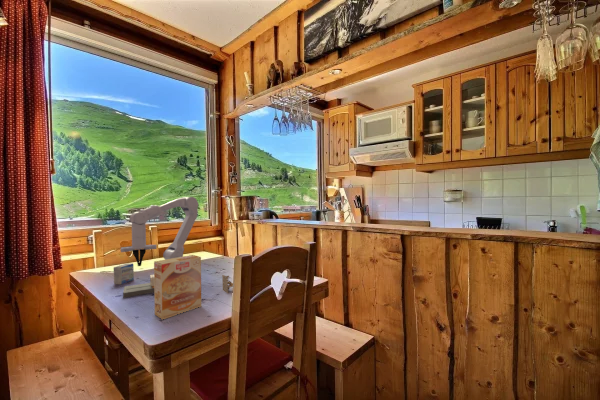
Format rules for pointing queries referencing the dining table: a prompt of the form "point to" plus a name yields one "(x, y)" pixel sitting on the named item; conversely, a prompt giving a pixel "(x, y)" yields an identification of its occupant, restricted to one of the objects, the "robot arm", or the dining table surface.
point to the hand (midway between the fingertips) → (139, 265)
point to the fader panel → (137, 290)
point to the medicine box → (123, 273)
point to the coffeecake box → (177, 285)
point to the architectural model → (226, 283)
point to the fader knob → (152, 280)
